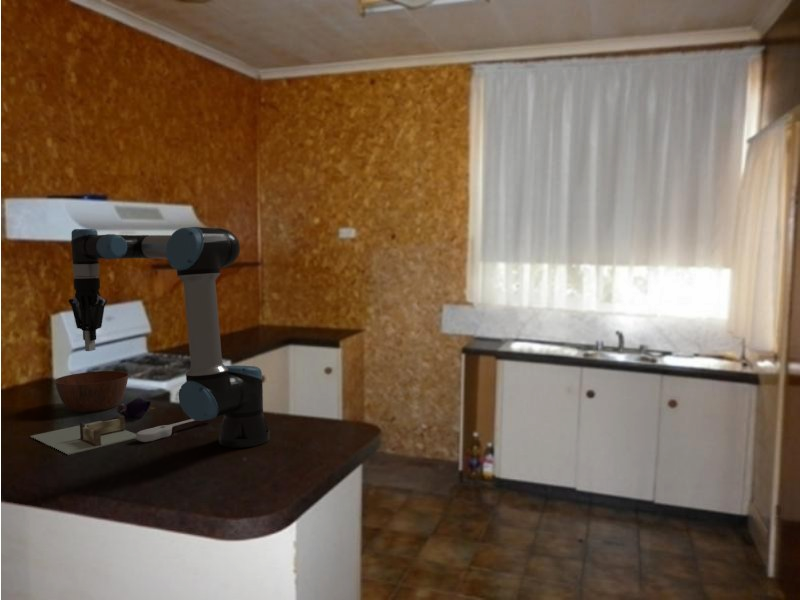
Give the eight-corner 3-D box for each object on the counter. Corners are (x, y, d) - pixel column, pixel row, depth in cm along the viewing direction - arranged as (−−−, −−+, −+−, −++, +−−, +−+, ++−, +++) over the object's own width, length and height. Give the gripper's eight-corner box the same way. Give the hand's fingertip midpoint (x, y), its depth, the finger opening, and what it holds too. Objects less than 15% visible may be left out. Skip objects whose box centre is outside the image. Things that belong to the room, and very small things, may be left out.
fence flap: (88, 437, 195) (88, 424, 195) (87, 436, 196) (86, 423, 196) (125, 429, 203) (124, 416, 203) (123, 428, 204) (122, 416, 204)
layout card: (141, 437, 197) (141, 435, 197) (67, 455, 180) (67, 453, 180) (100, 422, 215) (100, 420, 215) (30, 437, 198) (30, 435, 198)
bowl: (81, 419, 219) (80, 387, 218) (42, 410, 232) (40, 380, 231) (144, 404, 240) (142, 374, 239) (104, 396, 253) (103, 368, 252)
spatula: (207, 421, 215) (207, 412, 215) (218, 423, 212) (218, 415, 212) (132, 441, 192) (131, 432, 192) (142, 444, 189) (142, 435, 189)
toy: (152, 419, 218) (150, 401, 217) (117, 424, 215) (114, 405, 214) (155, 409, 228) (153, 392, 227) (121, 414, 225) (119, 396, 224)
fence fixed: (101, 446, 188) (100, 428, 188) (96, 447, 187) (95, 429, 187) (84, 439, 195) (83, 422, 195) (79, 440, 194) (78, 423, 194)
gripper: (112, 277, 203) (115, 349, 205) (78, 276, 206) (82, 348, 208) (95, 278, 195) (98, 353, 197) (60, 278, 199) (64, 351, 201)
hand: (90, 350), depth 203 cm, fingers closed
